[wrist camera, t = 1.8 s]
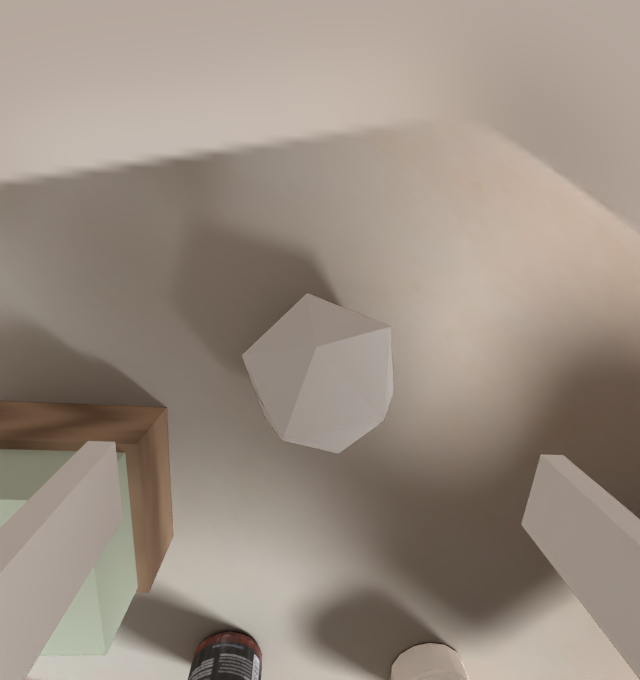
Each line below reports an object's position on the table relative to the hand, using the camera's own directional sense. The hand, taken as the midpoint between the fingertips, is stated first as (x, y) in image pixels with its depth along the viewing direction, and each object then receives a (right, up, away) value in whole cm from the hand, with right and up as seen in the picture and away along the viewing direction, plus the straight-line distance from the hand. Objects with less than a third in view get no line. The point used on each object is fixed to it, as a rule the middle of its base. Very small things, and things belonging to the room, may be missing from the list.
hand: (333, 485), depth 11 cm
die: (0, +4, +14) cm, 14 cm away
